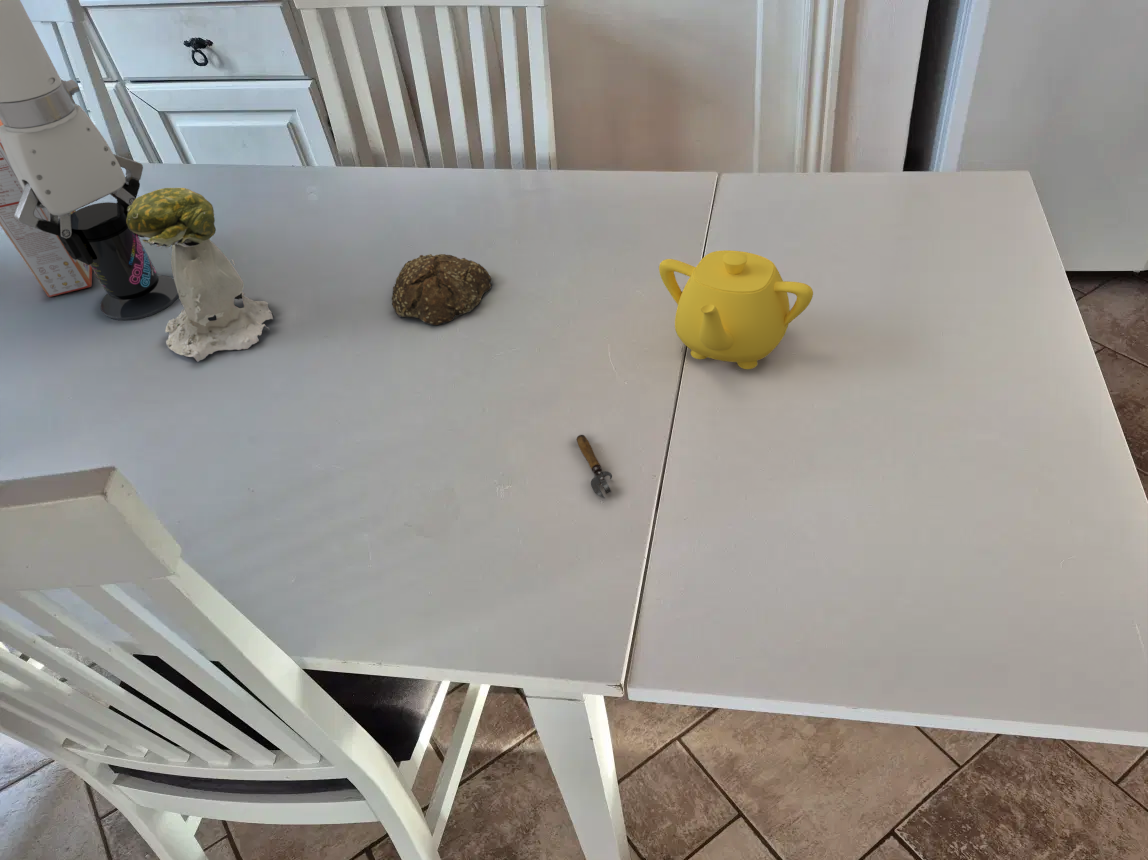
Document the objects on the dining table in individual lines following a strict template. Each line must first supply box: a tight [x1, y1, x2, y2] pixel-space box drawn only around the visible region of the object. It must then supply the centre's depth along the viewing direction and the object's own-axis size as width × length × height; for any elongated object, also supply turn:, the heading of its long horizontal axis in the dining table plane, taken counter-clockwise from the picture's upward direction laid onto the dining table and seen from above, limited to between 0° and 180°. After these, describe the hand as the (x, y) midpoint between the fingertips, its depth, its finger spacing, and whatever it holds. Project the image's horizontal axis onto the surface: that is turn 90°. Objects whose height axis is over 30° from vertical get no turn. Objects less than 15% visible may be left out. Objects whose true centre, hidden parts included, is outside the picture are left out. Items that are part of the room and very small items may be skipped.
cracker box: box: [0, 120, 93, 298], centre depth 111 cm, size 14×6×21 cm, turn 23°
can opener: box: [576, 434, 613, 499], centre depth 86 cm, size 9×2×1 cm, turn 16°
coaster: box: [100, 274, 179, 321], centre depth 113 cm, size 10×10×1 cm
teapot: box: [658, 249, 814, 370], centre depth 96 cm, size 14×14×12 cm
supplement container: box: [71, 201, 159, 300], centre depth 108 cm, size 7×7×10 cm
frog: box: [126, 187, 274, 363], centre depth 100 cm, size 12×13×18 cm
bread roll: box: [391, 253, 492, 326], centre depth 108 cm, size 13×12×5 cm
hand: (111, 246), depth 107 cm, fingers closed on supplement container, 6 cm apart
